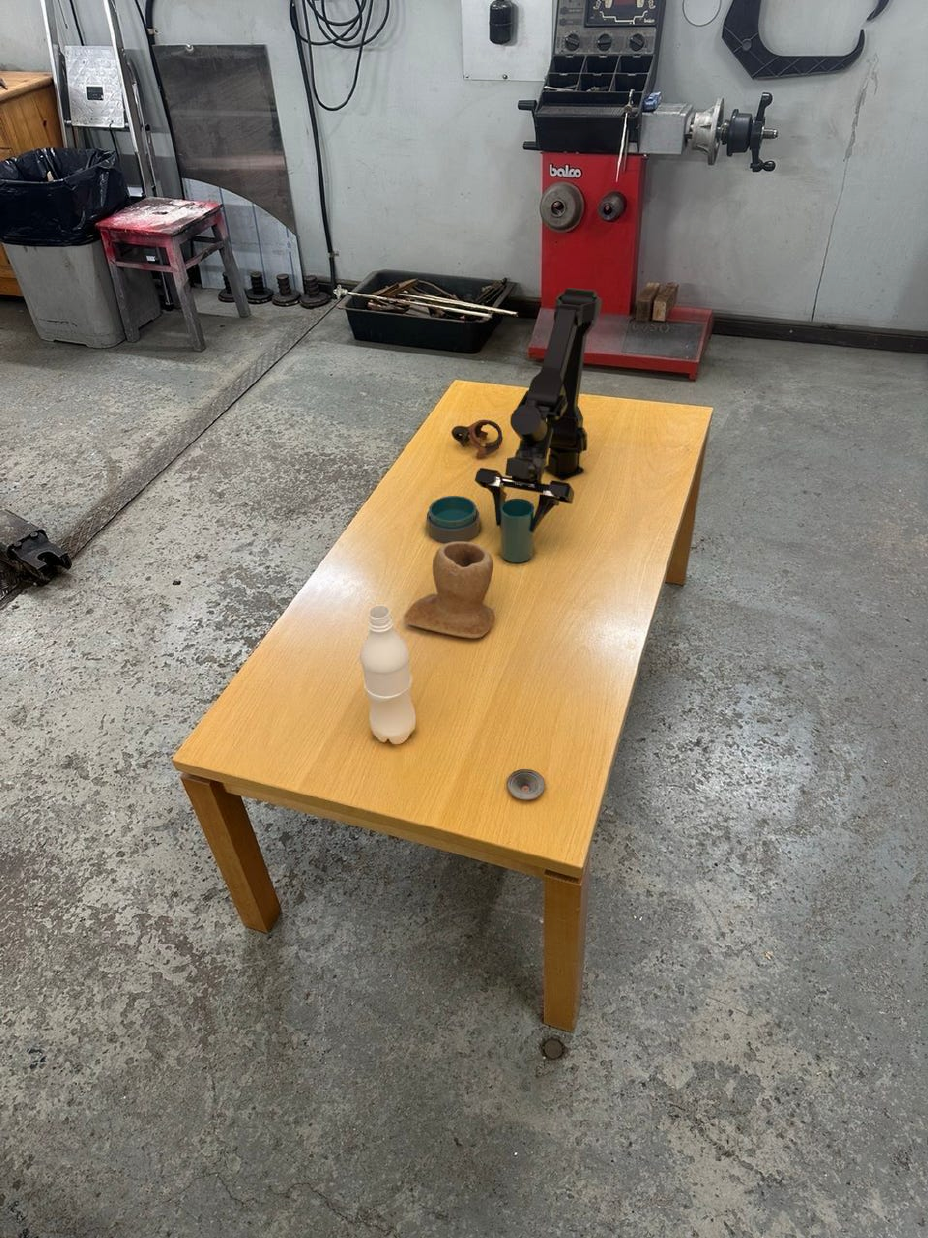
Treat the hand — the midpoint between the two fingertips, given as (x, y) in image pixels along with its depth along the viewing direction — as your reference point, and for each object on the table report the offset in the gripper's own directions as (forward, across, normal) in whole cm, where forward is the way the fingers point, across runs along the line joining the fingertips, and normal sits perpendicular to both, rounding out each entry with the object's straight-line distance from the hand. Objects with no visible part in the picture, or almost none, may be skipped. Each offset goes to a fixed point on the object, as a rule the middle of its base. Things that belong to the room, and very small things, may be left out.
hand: (514, 528), depth 163 cm
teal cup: (+4, 0, +6) cm, 7 cm away
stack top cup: (+1, -15, +9) cm, 18 cm away
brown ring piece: (-22, -22, +32) cm, 45 cm away
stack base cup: (+1, -15, +9) cm, 18 cm away
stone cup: (+20, -4, -10) cm, 23 cm away
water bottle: (+40, -3, -30) cm, 50 cm away
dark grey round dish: (+43, +20, -33) cm, 57 cm away
